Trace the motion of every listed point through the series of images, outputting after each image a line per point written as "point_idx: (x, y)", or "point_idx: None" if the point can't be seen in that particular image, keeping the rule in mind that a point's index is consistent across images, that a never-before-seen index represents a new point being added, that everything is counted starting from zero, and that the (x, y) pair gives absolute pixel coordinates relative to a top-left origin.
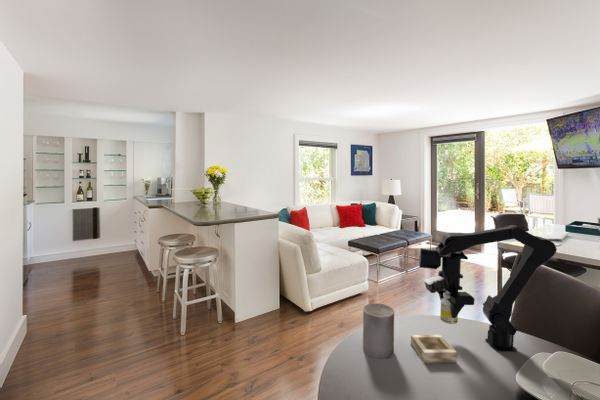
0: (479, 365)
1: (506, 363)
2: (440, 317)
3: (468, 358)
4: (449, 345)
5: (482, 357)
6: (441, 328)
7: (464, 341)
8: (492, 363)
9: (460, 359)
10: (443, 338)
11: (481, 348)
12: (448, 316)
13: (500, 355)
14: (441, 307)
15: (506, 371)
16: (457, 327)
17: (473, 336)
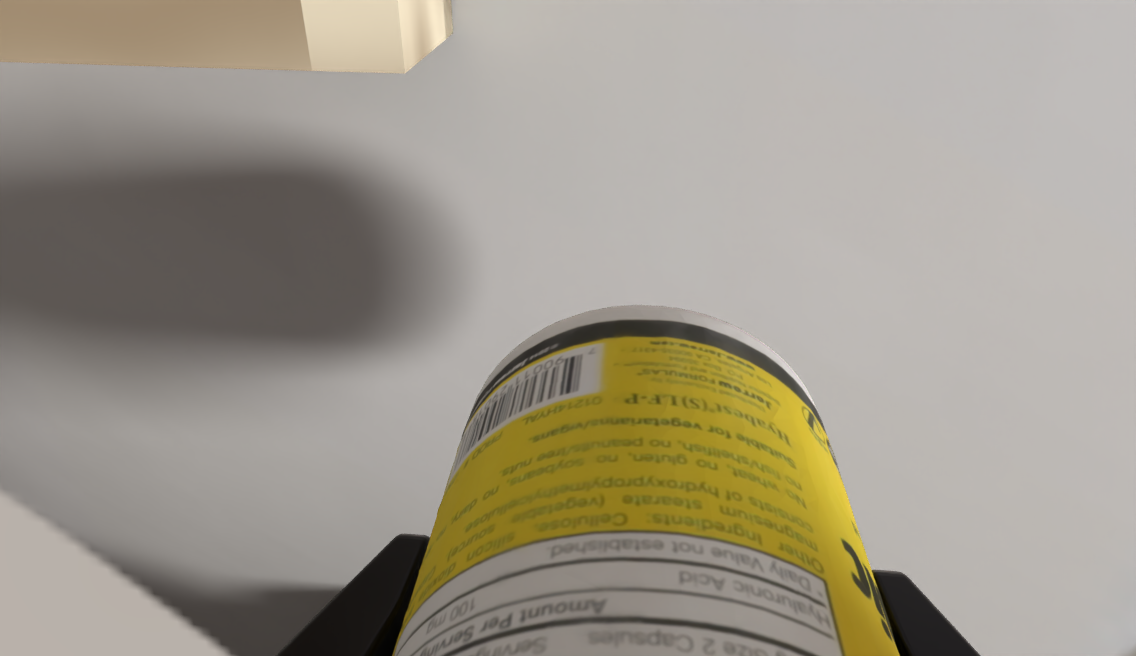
0: (30, 289)
1: (158, 544)
2: (725, 340)
3: (148, 250)
4: (12, 39)
5: (213, 410)
6: (936, 322)
7: None
8: (119, 435)
9: (92, 133)
10: (262, 60)
11: (400, 501)
12: (452, 488)
13: (290, 577)
14: (668, 569)
15: (14, 469)
16: (900, 530)
17: None
